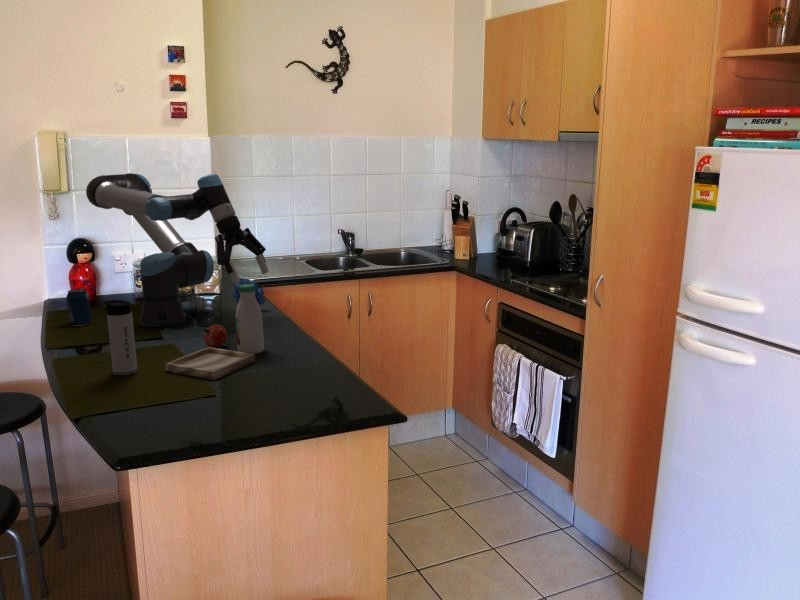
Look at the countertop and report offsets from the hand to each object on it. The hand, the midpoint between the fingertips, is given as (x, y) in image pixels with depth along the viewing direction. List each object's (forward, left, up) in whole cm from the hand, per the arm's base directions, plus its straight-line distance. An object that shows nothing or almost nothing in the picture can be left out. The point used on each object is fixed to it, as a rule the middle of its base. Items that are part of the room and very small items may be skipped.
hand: (251, 277), depth 238 cm
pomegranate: (+7, -26, -16) cm, 32 cm away
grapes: (-13, +13, -16) cm, 24 cm away
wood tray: (+18, -41, -16) cm, 48 cm away
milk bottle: (+19, -25, -16) cm, 36 cm away
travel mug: (0, -55, -16) cm, 58 cm away
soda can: (-54, -25, -16) cm, 62 cm away
